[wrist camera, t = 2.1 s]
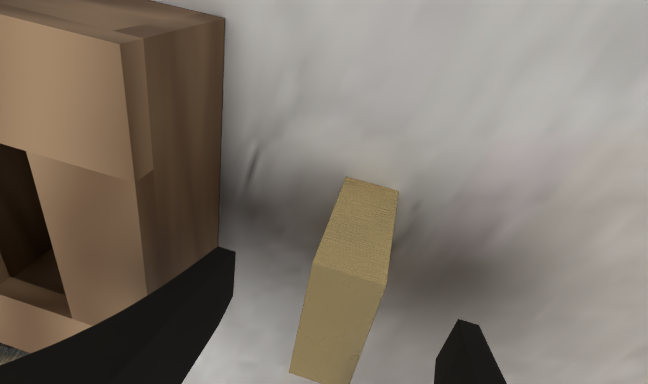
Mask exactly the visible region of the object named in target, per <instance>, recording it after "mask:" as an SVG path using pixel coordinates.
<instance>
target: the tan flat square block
mask: <svg viewBox="0 0 648 384" xmlns="http://www.w3.org/2000/svg"><path fill="white" fill-rule="evenodd" d="M398 192H399V191H397V190H393V189H389V188H386V187H382V186H378V185H375V184H371V183H367V182H364V181H360V180H356V179H353V178H349V177H346V178H345V181H344V184H343V186H342V189H341V191H340V194H339V196H338V199H337V201H336V204H335V207H334V209H333V212H332V214H331V217H330V219H329V222H328V224H327V227H326V230H325V232H324V235H323V237H322V240H321V242H320V245H319V248H318V250H317V253H316V255H315V258H314V260H313V263H312V267H311V272H310V276H309V281H308V286H307V290H306V295H305V300H304V304H303V309H302V314H301V318H300V323H299V328H298V332H297V337H296V342H295V346H294V351H293V356H292V360H291V365H290V369H289V373H292V374H295V375H298V376H301V377H304V378H307V379H310V380H313V381H316V382H319V383H322V384H350V381H351V379H352V376H353V373H354V371H355V368H356V365H357V363H358V360H359V357H360V355H361V352H362V349H363V347H364V344H365V341H366V339H367V336H368V333H369V331H370V328H371V325H372V323H373V320H374V317H375V315H376V312H377V309H378V306H379V304H380V301H381V298H382V296H383V293H384V290H385V288H386V284H387V276H388V269H389V261H390V253H391V246H392V238H393V230H394V223H395V215H396V207H397V200H398Z"/></svg>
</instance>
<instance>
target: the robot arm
mask: <svg viewBox="0 0 648 384" xmlns="http://www.w3.org/2000/svg"><path fill="white" fill-rule="evenodd" d="M235 255H236V252H234V251H231V250H228V249H224V248H221V247H216V248H215V249H213V250H212V251H211V252H209V253H208V254H207V255H205V256H204V257H203V258H201V259H200V260H198V261H197V262H196V263H194V264H193V265H192V266H190V267H189V268H187V269H186V270H185V271H183V272H182V273H180V274H179V275H177V276H176V277H175V278H173V279H172V280H170V281H169V282H167V283H166V284H164V285H163V286H161V287H160V288H158V289H157V290H155V291H153V292H152V293H150V294H149V295H147V296H145V297H144V298H142V299H141V300H139V301H137V302H136V303H134V304H132V305H131V306H129V307H127V308H125V309H124V310H122V311H120V312H118V313H117V314H115V315H113V316H111V317H109V318H107V319H105V320H103V321H101V322H100V323H98V324H96V325H94V326H92V327H89V328H87V329H85V330H83V331H81V332H79V333H77V334H75V335H73V336H71V337H68V338H66V339H64V340H62V341H60V342H57V343H55V344H53V345H50V346H48V347H45V348H43V349H40V350H38V351H35V352H33V353H30V354H28V355H25V356H23V357H20V358H18V359H15V360H13V361H10V362H7V363H5V364H2V365H0V384H181V383H182V382H183V380H184V379H185V377H186V376H187V374H188V372H189V371H190V369H191V368H192V366H193V365H194V363H195V361H196V360H197V358H198V357H199V355H200V354H201V352H202V350H203V349H204V347H205V346H206V344H207V343H208V341H209V339H210V338H211V336H212V335H213V333H214V331H215V330H216V328H217V327H218V325H219V323H220V321H221V319H222V317H223V315H224V313H225V311H226V309H227V307H228V305H229V303H230V301H231V298H232V296H233V287H234V271H235ZM434 384H507V383H506V381H505V379H504V377H503V375H502V373H501V371H500V369H499V367H498V365H497V363H496V361H495V359H494V357H493V354H492V352H491V350H490V348H489V346H488V344H487V342H486V339H485V337H484V335H483V333H482V331H481V329H480V327H479V325H477V324H473V323H470V322H467V321H463V320H460V319H458V320H457V322H456V324H455V326H454V328H453V329H452V331H451V333H450V335H449V337H448V338H447V340H446V342H445V344H444V345H443V347H442V349H441V351H440V353H439V354H438V356H437V358H436V364H435V377H434Z"/></svg>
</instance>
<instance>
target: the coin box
mask: <svg viewBox="0 0 648 384" xmlns="http://www.w3.org/2000/svg"><path fill="white" fill-rule="evenodd" d="M224 32H225V18H222V17H217V16H213V15H209V14H205V13H200V12H196V11H192V10H188V9H184V8H179V7H175V6H171V5H167V4H162V3H158V2H154V1H150V0H0V343H3V344H6V345H9V346H11V347H14V348H17V349H20V350H23V351H26V352H28V353H33V352H35V351H38V350H40V349H43V348H45V347H48V346H50V345H53V344H55V343H57V342H60V341H62V340H64V339H66V338H68V337H71V336H73V335H75V334H77V333H79V332H81V331H83V330H85V329H87V328H89V327H92V326H94V325H96V324H98V323H100V322H101V321H103V320H105V319H107V318H109V317H111V316H113V315H115V314H117V313H118V312H120V311H122V310H124V309H125V308H127V307H129V306H131V305H132V304H134V303H136V302H137V301H139V300H141V299H142V298H144V297H145V296H147V295H149V294H150V293H152V292H153V291H155V290H157V289H158V288H160V287H161V286H163V285H164V284H166V283H167V282H169V281H170V280H172V279H173V278H175V277H176V276H177V275H179V274H180V273H182V272H183V271H185V270H186V269H187V268H189V267H190V266H192V265H193V264H194V263H196V262H197V261H198V260H200V259H201V258H203V257H204V256H205V255H207V254H208V253H209V252H211V251H212V250H213V249H215V248H216V247H218V222H219V191H220V159H221V127H222V95H223V64H224Z"/></svg>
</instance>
